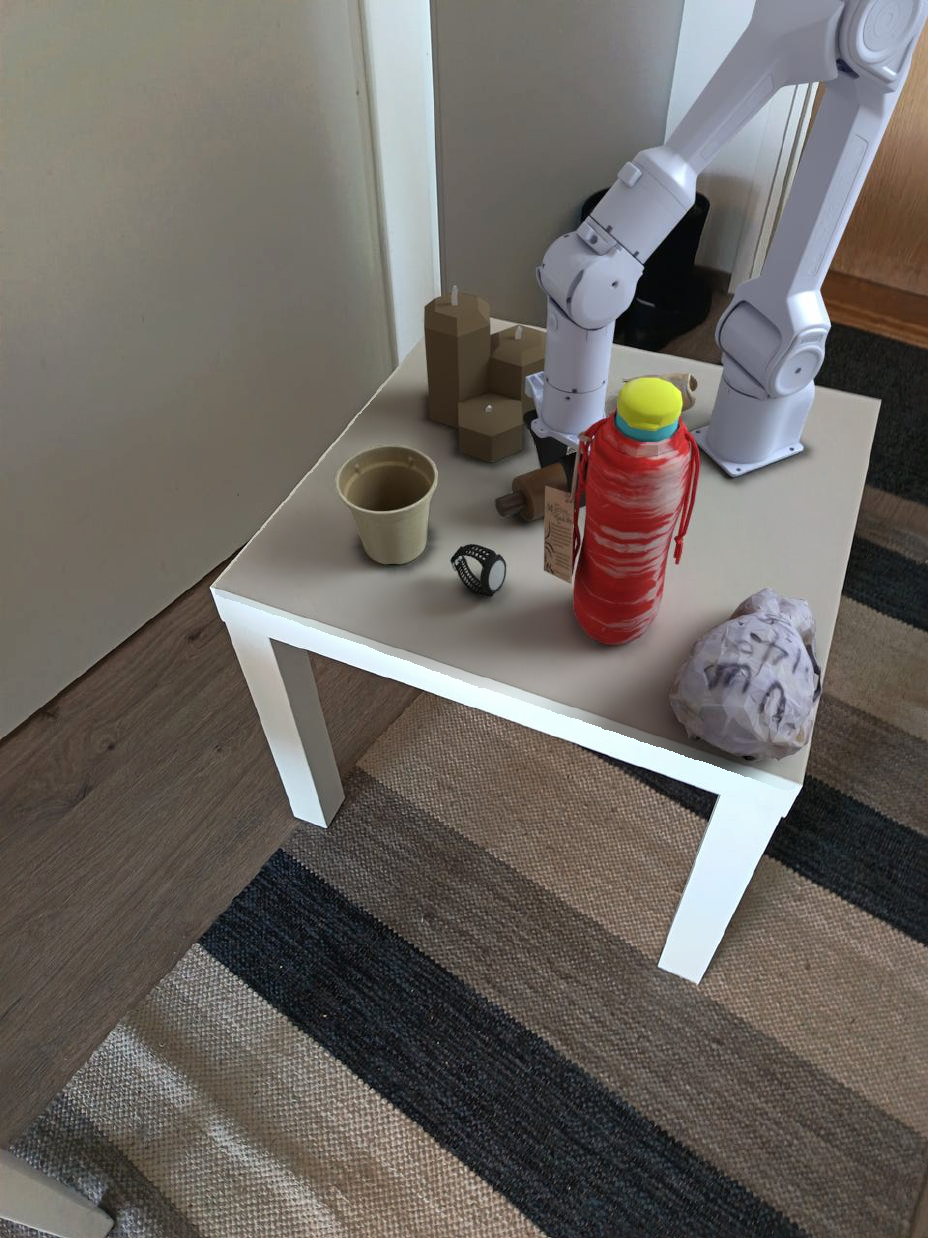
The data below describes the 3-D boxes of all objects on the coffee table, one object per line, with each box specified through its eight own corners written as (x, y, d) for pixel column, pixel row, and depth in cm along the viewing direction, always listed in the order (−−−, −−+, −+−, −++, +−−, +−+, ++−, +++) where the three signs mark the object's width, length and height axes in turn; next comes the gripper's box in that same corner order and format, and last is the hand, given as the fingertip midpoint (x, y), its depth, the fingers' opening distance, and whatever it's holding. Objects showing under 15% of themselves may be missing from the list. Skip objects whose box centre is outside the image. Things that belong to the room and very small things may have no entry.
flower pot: (330, 564, 83) (316, 498, 77) (372, 501, 89) (362, 434, 82) (419, 589, 81) (412, 523, 74) (456, 523, 86) (453, 456, 80)
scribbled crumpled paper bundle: (744, 611, 80) (778, 529, 73) (863, 680, 75) (911, 599, 68) (626, 729, 70) (652, 647, 63) (754, 818, 65) (798, 739, 58)
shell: (626, 423, 96) (620, 382, 94) (628, 415, 100) (623, 375, 98) (700, 411, 94) (695, 369, 92) (699, 402, 98) (695, 362, 96)
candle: (399, 431, 96) (386, 309, 84) (458, 367, 103) (454, 246, 92) (507, 468, 91) (510, 344, 80) (561, 398, 99) (571, 276, 87)
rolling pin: (614, 464, 92) (620, 429, 88) (639, 490, 89) (645, 455, 85) (488, 510, 88) (488, 476, 84) (509, 539, 85) (510, 505, 81)
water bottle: (520, 635, 77) (529, 407, 58) (543, 572, 82) (559, 341, 63) (653, 668, 75) (710, 440, 55) (669, 601, 79) (727, 369, 60)
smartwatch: (480, 613, 79) (479, 576, 75) (447, 580, 82) (445, 543, 78) (515, 592, 81) (516, 555, 77) (481, 560, 83) (481, 523, 79)
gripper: (498, 345, 80) (497, 459, 90) (580, 433, 71) (568, 547, 82) (564, 324, 81) (555, 438, 92) (651, 408, 73) (630, 523, 84)
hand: (565, 488), depth 87 cm, fingers open, 5 cm apart
